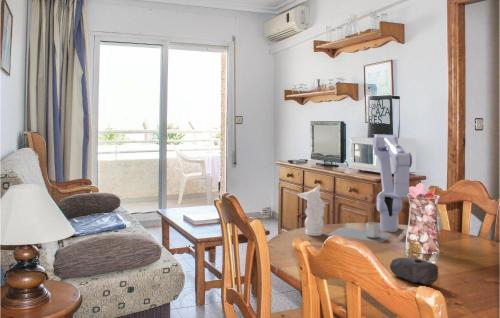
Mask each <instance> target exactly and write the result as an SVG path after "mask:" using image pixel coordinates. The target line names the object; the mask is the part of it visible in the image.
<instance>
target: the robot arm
mask: <svg viewBox="0 0 500 318" xmlns="http://www.w3.org/2000/svg"><path fill="white" fill-rule="evenodd" d="M372 139H373V140H372V147H373V153H374V155H375V156H377V158H378V164H379V172H380V179H381V190H382V191H380V192H379V193H377V196H376V210H377V211H378V213H380V214H379V215H380V217H379V218H380V219H379V220H380V221H379V224H380V231H382V232H386V233H387V232H389V233H390V232H391V233H393V232H397V231H398V229H399V221H400V220H399V214H400V212H401V211H402V209H403V201H402V200H408V201H410V200H409V199H408V197H407V194H408V193H409V194H410V168H411V167H412V164H413V155H412V154H411V152H407V151H405V150H404V148H403V146H401V145H400V144H399V137H398V136H397V134H375V135H374V136H373V138H372ZM391 162H392V167H391ZM392 172H393V175H392ZM408 205H409V207H410V204H409V203H408Z"/></svg>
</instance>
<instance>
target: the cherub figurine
mask: <svg viewBox="0 0 500 318" xmlns="http://www.w3.org/2000/svg"><path fill="white" fill-rule="evenodd" d="M320 190H321V184H320V183H319V184H318V186H317V187H315V188H313V189H310V190H308V191H306V192H305V191H304V192H301V193H297V197H299V198H301V199H304V200H306V208H305V212H304V213H305V216H306V218H305V220H304V227H305V234H306V235H308V236H314V237H315V236H321V235H322V234H323V229H324V220H323V217H324V215H325V208H326V203H325V202H324V200H323V199H322V198H321V192H320Z"/></svg>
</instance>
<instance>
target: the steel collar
mask: <svg viewBox="0 0 500 318" xmlns="http://www.w3.org/2000/svg"><path fill="white" fill-rule="evenodd" d="M365 231H366V236H368V237H373V238H376V237H380V232H381V230H380V222H374V221H373V222H372V221H371V222H369V221H368V222H366V223H365Z"/></svg>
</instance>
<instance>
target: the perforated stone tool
mask: <svg viewBox="0 0 500 318" xmlns="http://www.w3.org/2000/svg"><path fill="white" fill-rule="evenodd" d="M389 269H390V271H391V273H393V275H394V276H396V277H398V278H400V279H401V278H403V279H404V281H407V282H411V283H414V284H417V283H419V284H422V285H424V286H427V285H433V284H434V283H435V282H436V281H437V280H438V279H439V278H438V277H439V266H437V265H436V264H435V263H434V262H433V263H432V262H430V261H427V260H422V259H419V258H412V257H397V258H396V257H395V259H392V260H391V263H390V264H389Z"/></svg>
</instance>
